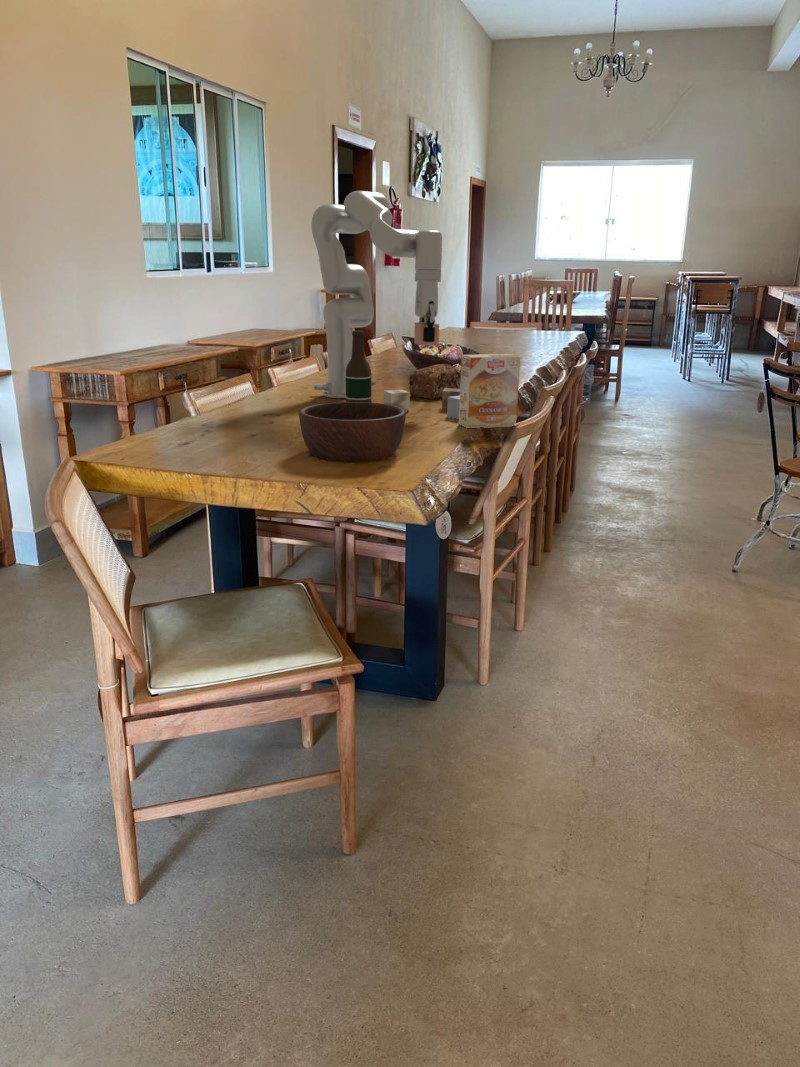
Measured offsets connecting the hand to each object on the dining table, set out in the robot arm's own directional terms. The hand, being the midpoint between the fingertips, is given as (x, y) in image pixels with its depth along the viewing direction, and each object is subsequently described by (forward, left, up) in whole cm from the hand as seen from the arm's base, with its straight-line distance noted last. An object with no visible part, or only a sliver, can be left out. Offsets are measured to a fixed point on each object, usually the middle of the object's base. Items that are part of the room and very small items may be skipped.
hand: (426, 340), depth 233 cm
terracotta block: (0, 0, -1) cm, 1 cm away
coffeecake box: (+13, -22, -22) cm, 34 cm away
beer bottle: (-20, +2, -22) cm, 30 cm away
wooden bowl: (-29, -50, -22) cm, 62 cm away
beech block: (-8, +4, -22) cm, 23 cm away
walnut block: (+10, +5, -22) cm, 24 cm away
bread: (+11, +33, -22) cm, 41 cm away
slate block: (+9, -9, -22) cm, 25 cm away
